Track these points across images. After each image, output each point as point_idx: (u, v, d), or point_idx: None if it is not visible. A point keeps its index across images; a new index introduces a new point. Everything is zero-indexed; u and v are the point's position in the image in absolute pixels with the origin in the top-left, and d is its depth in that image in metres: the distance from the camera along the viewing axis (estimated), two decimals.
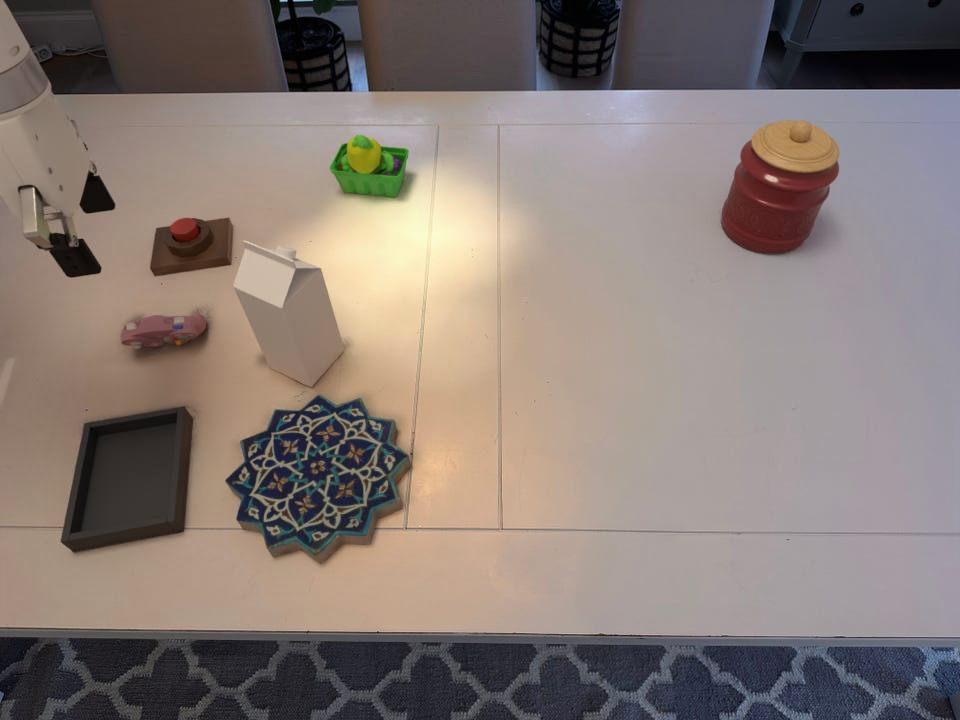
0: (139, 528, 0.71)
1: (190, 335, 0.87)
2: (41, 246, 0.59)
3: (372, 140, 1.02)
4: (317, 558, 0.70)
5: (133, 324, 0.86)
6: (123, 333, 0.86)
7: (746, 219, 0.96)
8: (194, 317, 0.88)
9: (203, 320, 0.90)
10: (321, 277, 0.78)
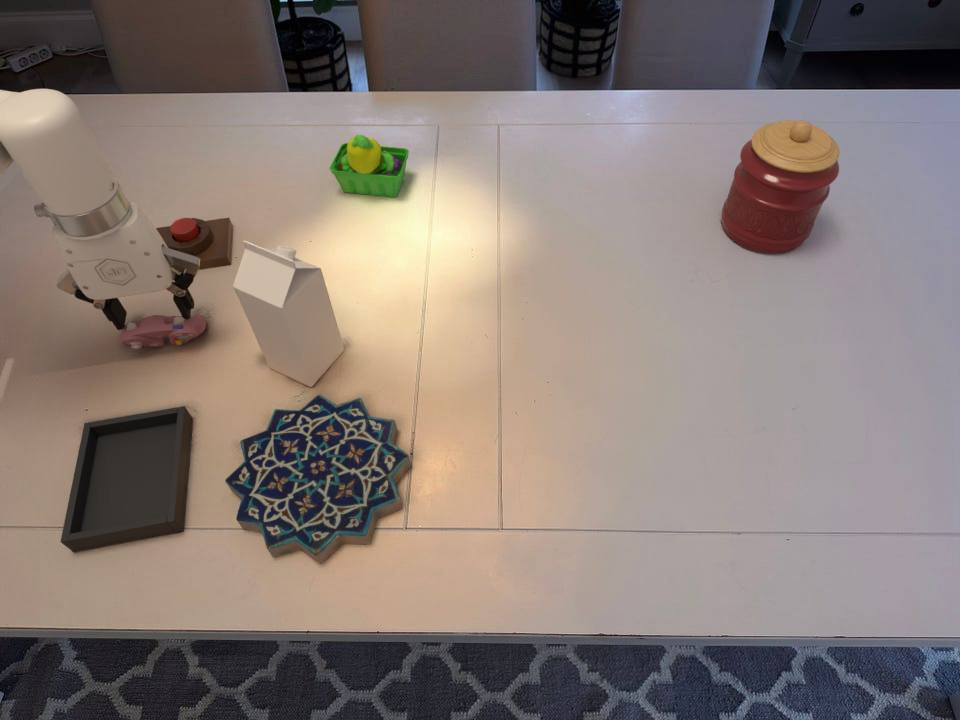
0: (139, 528, 0.71)
1: (190, 335, 0.87)
2: (194, 276, 0.82)
3: (372, 140, 1.02)
4: (317, 558, 0.70)
5: (133, 324, 0.86)
6: (123, 333, 0.86)
7: (746, 219, 0.96)
8: (194, 317, 0.88)
9: (203, 320, 0.90)
10: (321, 277, 0.78)
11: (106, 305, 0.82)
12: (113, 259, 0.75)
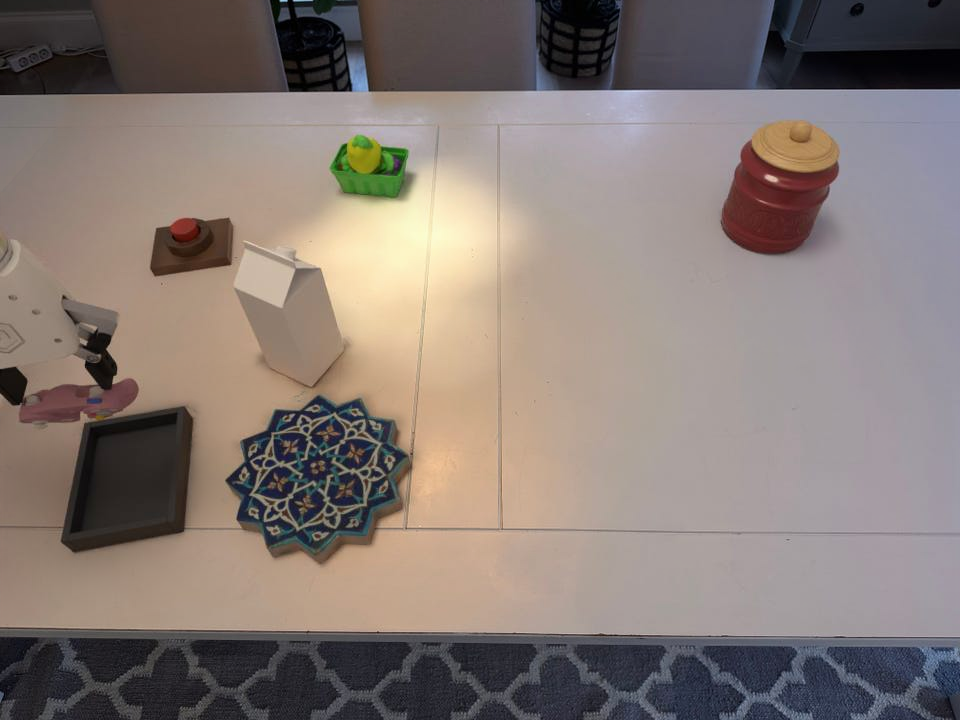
0: (139, 528, 0.71)
1: (113, 410, 0.66)
2: (111, 336, 0.61)
3: (372, 140, 1.02)
4: (317, 558, 0.70)
5: (35, 397, 0.64)
6: (21, 409, 0.64)
7: (746, 219, 0.96)
8: (119, 385, 0.67)
9: (133, 387, 0.69)
10: (321, 277, 0.78)
11: None
12: None
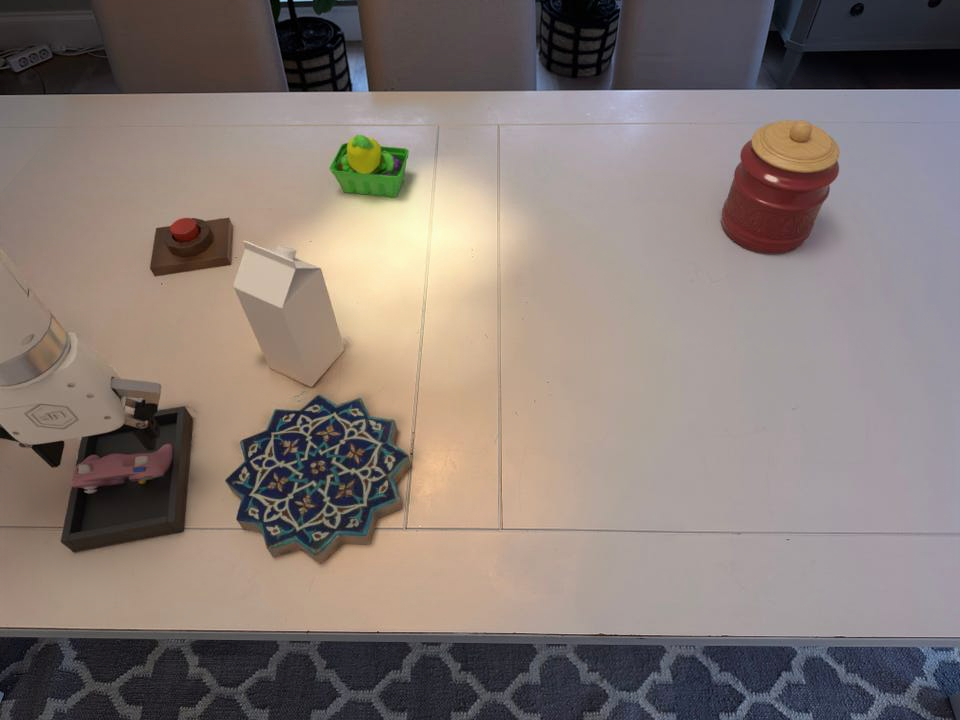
0: (139, 528, 0.71)
1: (155, 476, 0.73)
2: None
3: (372, 140, 1.02)
4: (317, 558, 0.70)
5: (86, 466, 0.72)
6: (74, 477, 0.72)
7: (746, 219, 0.96)
8: (160, 453, 0.75)
9: (172, 452, 0.77)
10: (321, 277, 0.78)
11: None
12: (48, 404, 0.61)
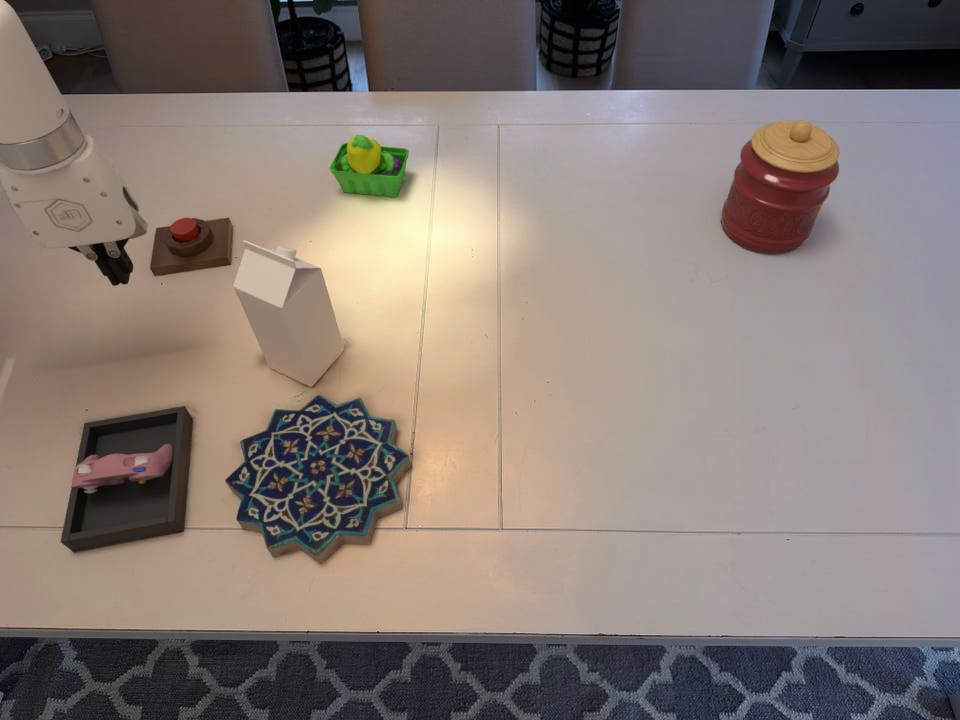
0: (139, 528, 0.71)
1: (155, 476, 0.73)
2: None
3: (372, 140, 1.02)
4: (317, 558, 0.70)
5: (86, 466, 0.72)
6: (74, 477, 0.72)
7: (746, 219, 0.96)
8: (160, 453, 0.75)
9: (172, 452, 0.77)
10: (321, 277, 0.78)
11: (100, 256, 0.75)
12: (65, 200, 0.66)
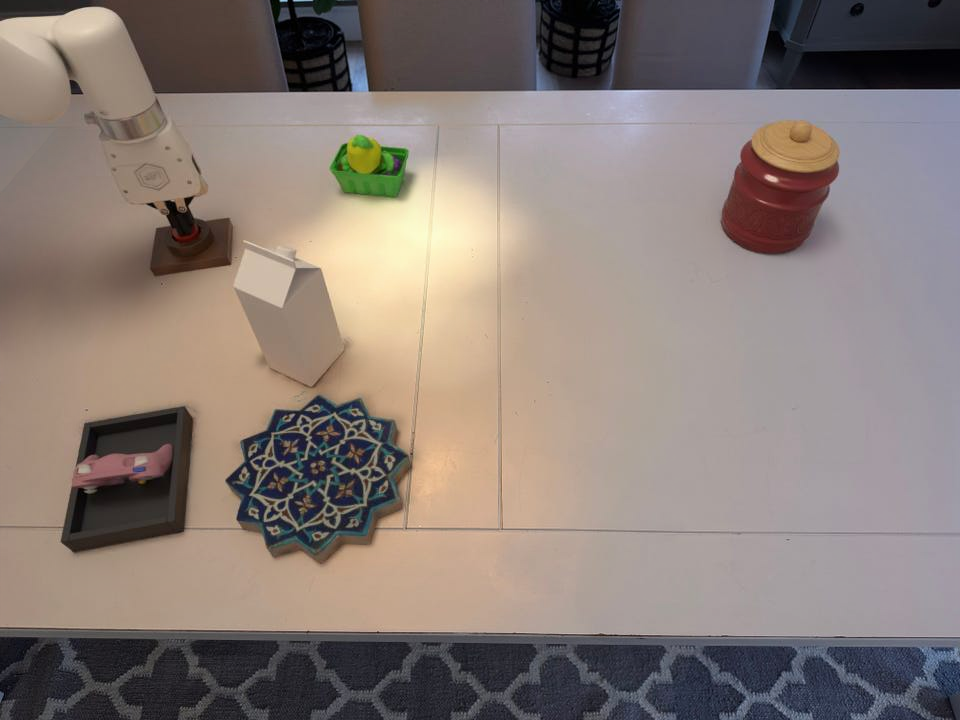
0: (139, 528, 0.71)
1: (155, 476, 0.73)
2: None
3: (372, 140, 1.02)
4: (317, 558, 0.70)
5: (86, 466, 0.72)
6: (74, 477, 0.72)
7: (746, 219, 0.96)
8: (160, 452, 0.75)
9: (172, 452, 0.77)
10: (321, 277, 0.78)
11: (170, 212, 0.95)
12: (150, 164, 0.87)
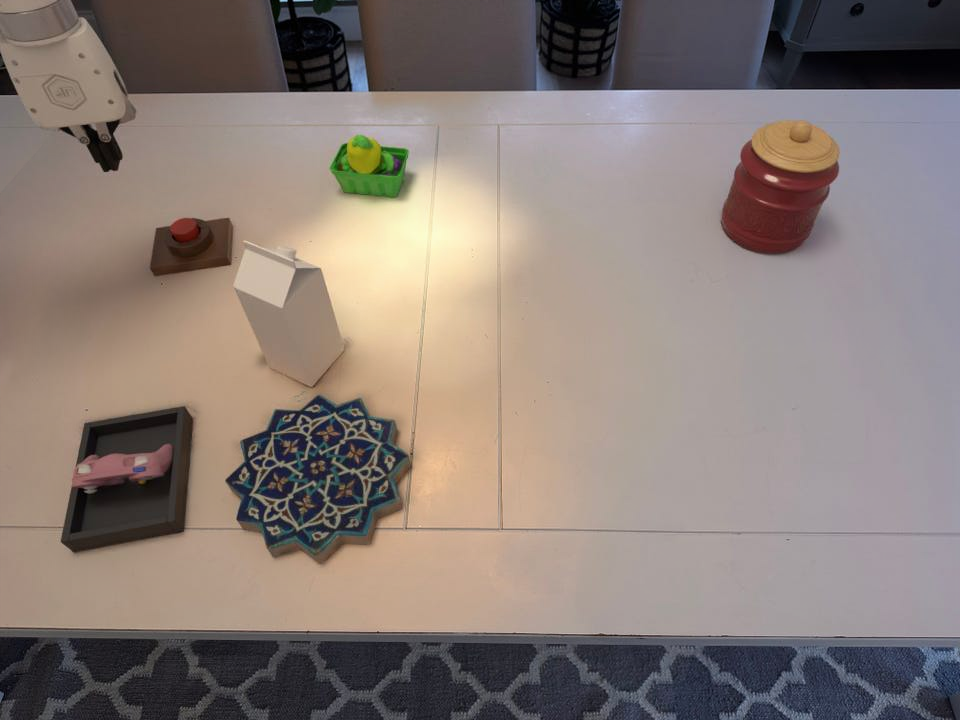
0: (139, 528, 0.71)
1: (155, 476, 0.73)
2: (119, 120, 0.80)
3: (372, 140, 1.02)
4: (317, 558, 0.70)
5: (86, 466, 0.72)
6: (74, 477, 0.72)
7: (746, 219, 0.96)
8: (160, 453, 0.75)
9: (172, 452, 0.77)
10: (321, 277, 0.78)
11: (92, 141, 0.81)
12: (61, 76, 0.73)
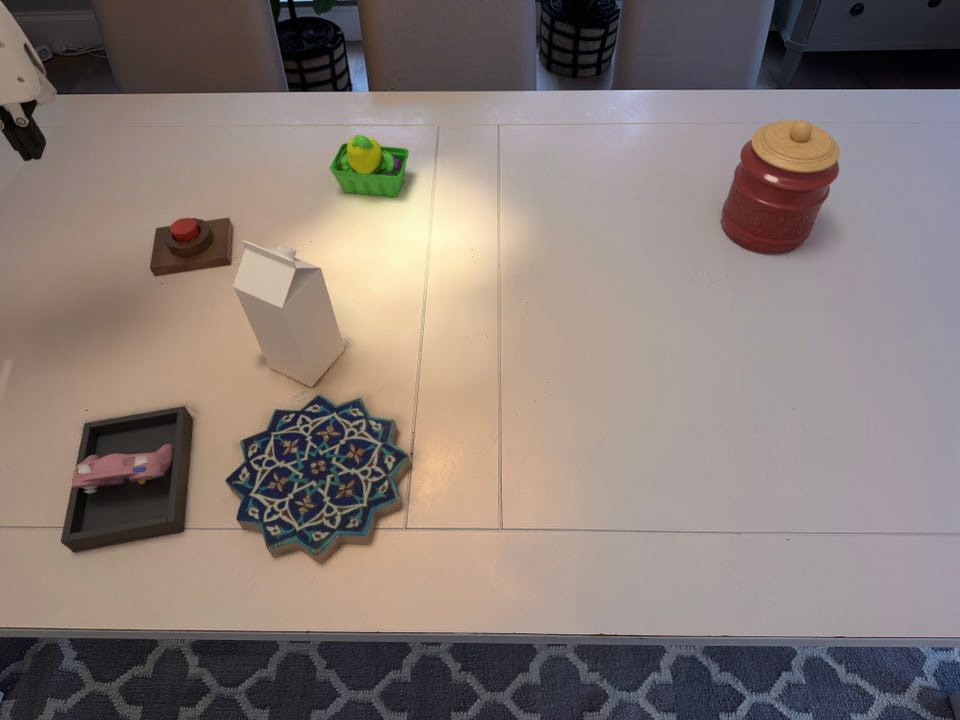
0: (139, 528, 0.71)
1: (155, 476, 0.73)
2: (36, 101, 0.70)
3: (372, 140, 1.02)
4: (317, 558, 0.70)
5: (86, 466, 0.72)
6: (74, 477, 0.72)
7: (746, 219, 0.96)
8: (160, 452, 0.75)
9: (172, 452, 0.77)
10: (321, 277, 0.78)
11: (7, 126, 0.71)
12: None
